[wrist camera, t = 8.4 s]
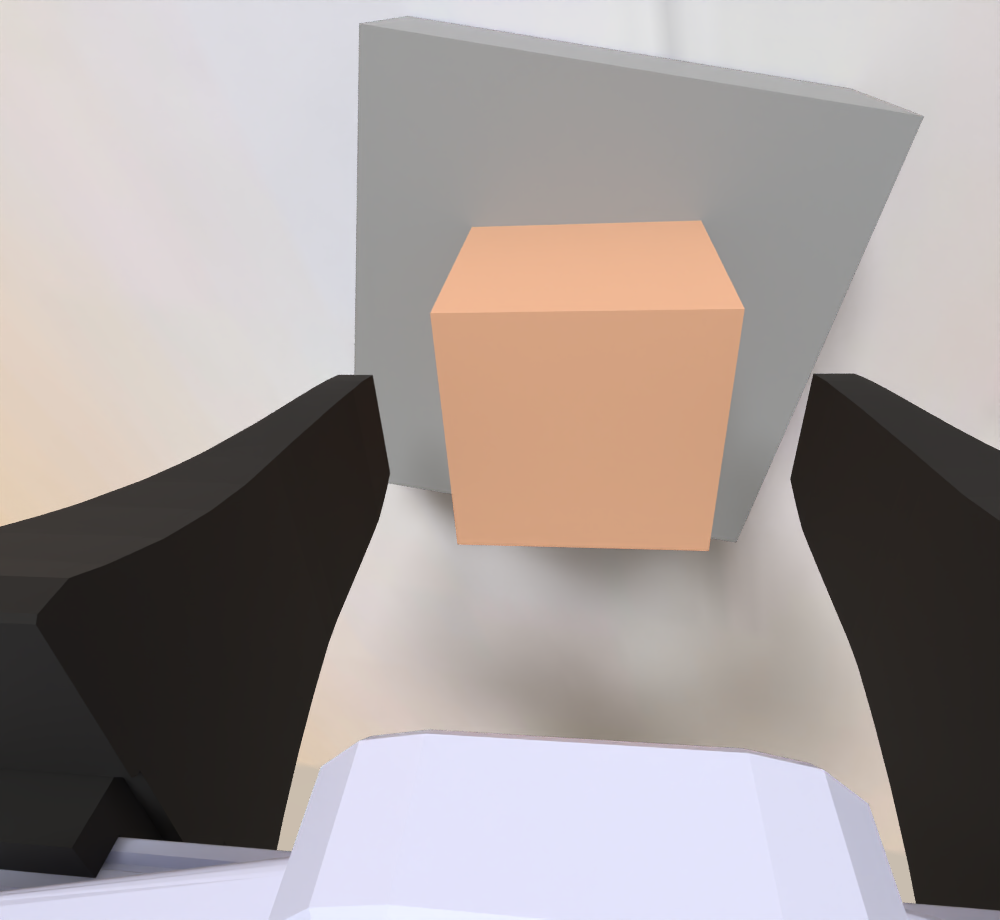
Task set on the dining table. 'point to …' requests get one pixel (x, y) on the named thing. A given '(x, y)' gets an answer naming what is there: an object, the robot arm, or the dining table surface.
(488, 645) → the dining table surface
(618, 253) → the peach block
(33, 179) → the dining table surface
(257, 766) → the robot arm
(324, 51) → the dining table surface
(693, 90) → the base block
